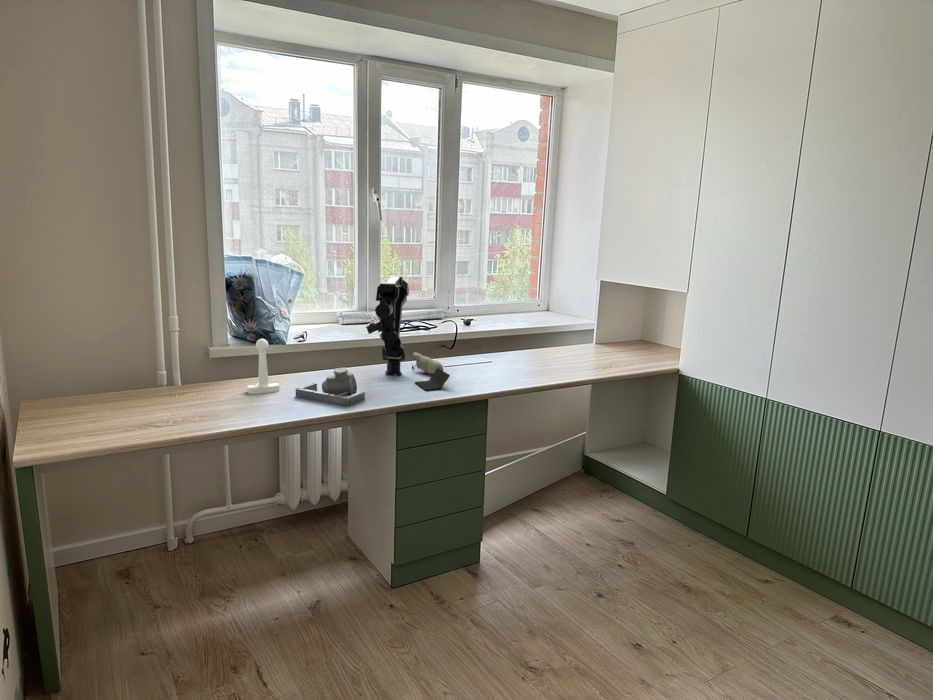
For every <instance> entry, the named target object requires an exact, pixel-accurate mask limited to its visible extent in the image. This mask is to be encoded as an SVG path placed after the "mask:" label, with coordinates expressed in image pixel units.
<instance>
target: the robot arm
mask: <svg viewBox="0 0 933 700" xmlns="http://www.w3.org/2000/svg"><path fill="white" fill-rule="evenodd" d="M378 284H379V285H377V289H376V297H375V301H376V302H379V304H378V305H376V307H375V310H374V313H375V315H376V316H377V318H378V320H375V321H372V322H369V323H367V324H365V327H366V330H367V333H368V334H369V335H370V334H373V333H374V332H378V333H380V334H378V335H379V337H380V339H381V340H382V341H383V346H382V361H386V370H385V374H386V376H402V375H403V373H402V371H401V362H403V361H406V351H405V349H404V346H403V343H402V341H401V339H400V336H401V324H402V314H403V307H404V305H405V303H406V302H407V300H408V296H409V295H410V294H409V293H410V287H409V283H408V282H407V281H406V280H404V278H403V276H401V275H390V276H389V279H388V280H387V281H383V282H382V281H381V282H379V283H378Z"/></svg>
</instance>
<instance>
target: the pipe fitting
mask: <svg viewBox="0 0 933 700" xmlns="http://www.w3.org/2000/svg"><path fill="white" fill-rule="evenodd" d="M333 374H334V375H329V376H327V377H326V379H325V380H324V381H323V382H322V384H321V392H323V393H329V394H334V395H341V394H345V393H347V394H349V395H353V394H356V393H358V387H357V386H358V385H357V381H356V377H355V375H354V373H353V372H349V371H348V368H347V367H336V368H334V369H333Z"/></svg>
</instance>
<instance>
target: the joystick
mask: <svg viewBox="0 0 933 700" xmlns="http://www.w3.org/2000/svg"><path fill="white" fill-rule="evenodd" d="M255 348H256V349H257V350H258V382H257V383H256V384H251V385H250V384H249V385H247V386H246V389H247V394H248V395H249V394H251V395H252V394H253V395H255V394H256V395H258V394H268V393H269V394H270V393H277V392H279V391H280V384H279V383H278V382H274V383H270V382H269V375H268V373H269V372H268V363H267V353H266V351H267V349H268V348H269V342H268V340H266V339H265V338H259V339H258V340H256V343H255Z"/></svg>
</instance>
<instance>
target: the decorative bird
mask: <svg viewBox="0 0 933 700" xmlns="http://www.w3.org/2000/svg"><path fill="white" fill-rule="evenodd" d="M412 355H413V356H415V365H413V364H411V371H415V370H419V369H420V370H421V371H422V372H424V373H426V374H428V375H433V374H434V372H435V371H436V369H437V368H439V369H440V370H442V371H444V368H443V365H442V363H441V362H440V361H437V360H434V359H432V358H431V357H428V356H424V355H422V354H421V353H419V352H416V351H415V352H413V353H412ZM415 367H417V368H415Z"/></svg>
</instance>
